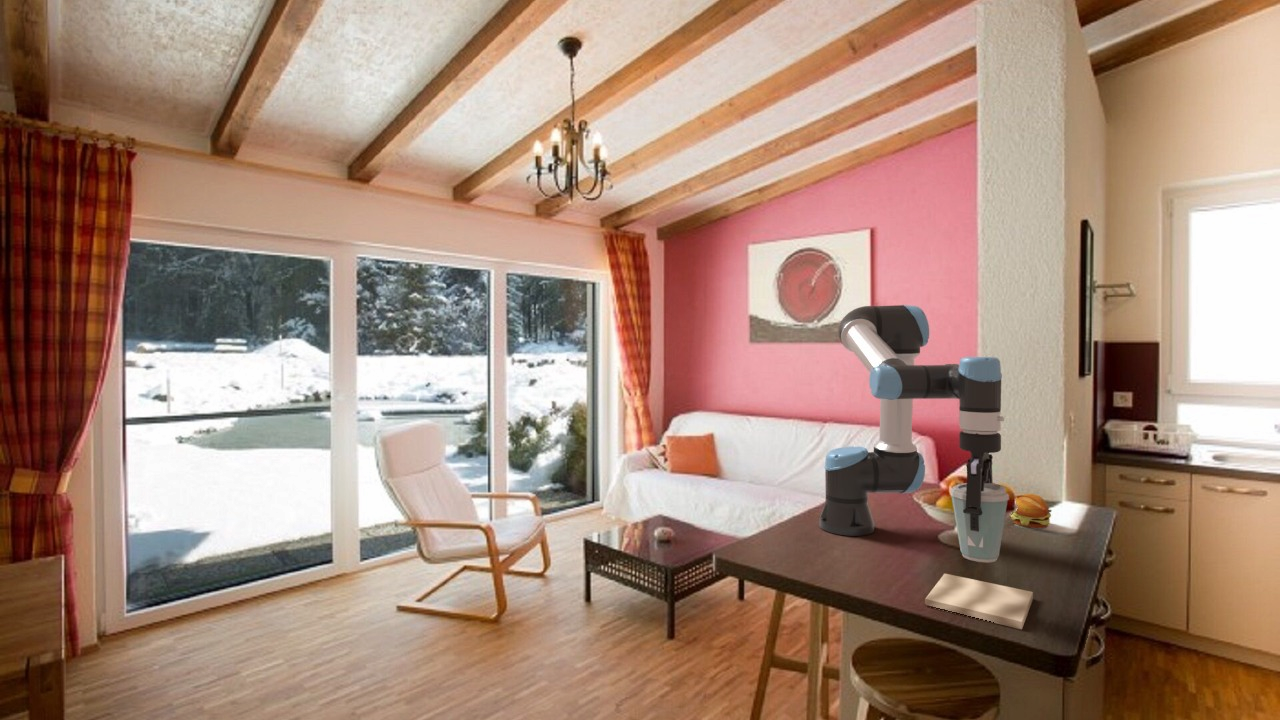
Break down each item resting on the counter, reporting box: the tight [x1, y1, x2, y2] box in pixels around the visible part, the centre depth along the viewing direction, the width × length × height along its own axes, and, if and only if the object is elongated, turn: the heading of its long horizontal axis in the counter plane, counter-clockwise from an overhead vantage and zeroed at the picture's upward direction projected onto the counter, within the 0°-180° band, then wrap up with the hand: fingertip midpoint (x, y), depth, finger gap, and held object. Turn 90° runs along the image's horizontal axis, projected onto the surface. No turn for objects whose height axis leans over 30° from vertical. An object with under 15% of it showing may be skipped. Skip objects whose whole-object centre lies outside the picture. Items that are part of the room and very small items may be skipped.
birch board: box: [924, 573, 1034, 630], centre depth 126 cm, size 17×17×2 cm
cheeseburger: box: [1010, 493, 1052, 529], centre depth 177 cm, size 10×11×10 cm
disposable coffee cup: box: [949, 482, 1010, 563], centre depth 125 cm, size 11×11×15 cm
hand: (979, 539), depth 125 cm, fingers open, 9 cm apart
